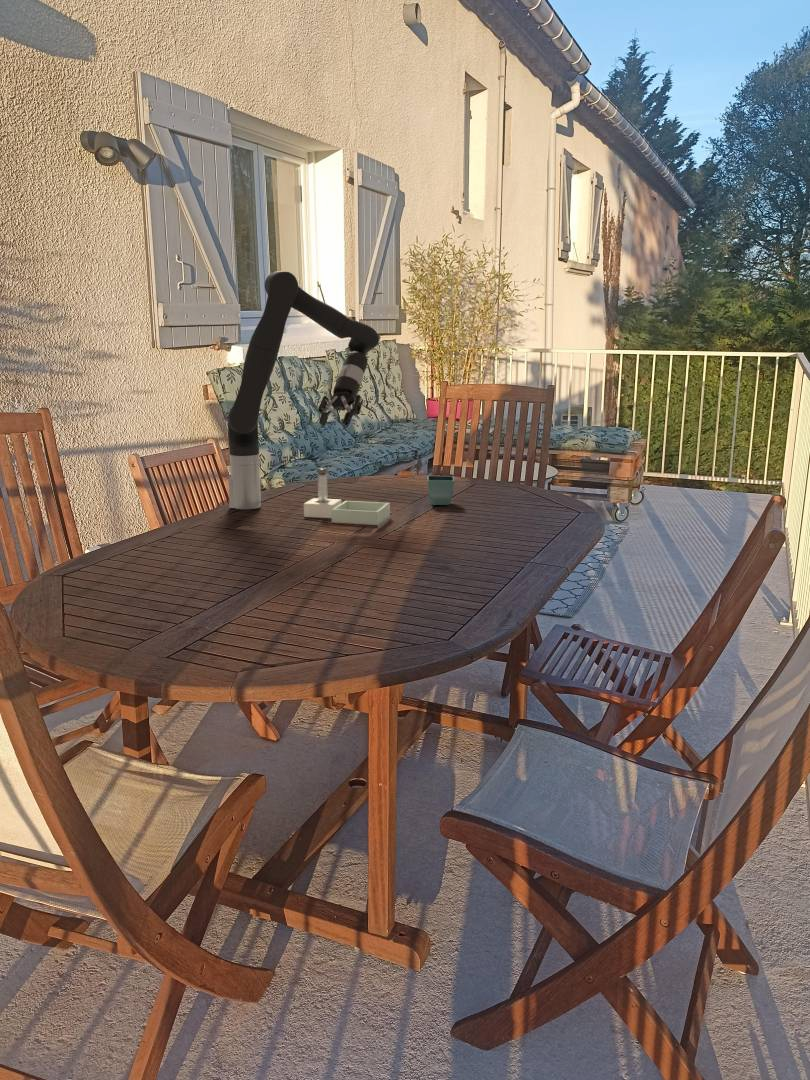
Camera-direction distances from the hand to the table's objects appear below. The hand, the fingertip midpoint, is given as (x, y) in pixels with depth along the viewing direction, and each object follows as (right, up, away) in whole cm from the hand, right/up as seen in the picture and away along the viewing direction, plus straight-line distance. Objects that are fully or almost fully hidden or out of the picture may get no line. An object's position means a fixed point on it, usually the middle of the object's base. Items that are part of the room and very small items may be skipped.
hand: (333, 424), depth 259 cm
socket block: (-3, -29, -3) cm, 29 cm away
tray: (+9, -30, -8) cm, 33 cm away
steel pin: (-3, -28, -3) cm, 28 cm away
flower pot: (+34, -24, +18) cm, 45 cm away
